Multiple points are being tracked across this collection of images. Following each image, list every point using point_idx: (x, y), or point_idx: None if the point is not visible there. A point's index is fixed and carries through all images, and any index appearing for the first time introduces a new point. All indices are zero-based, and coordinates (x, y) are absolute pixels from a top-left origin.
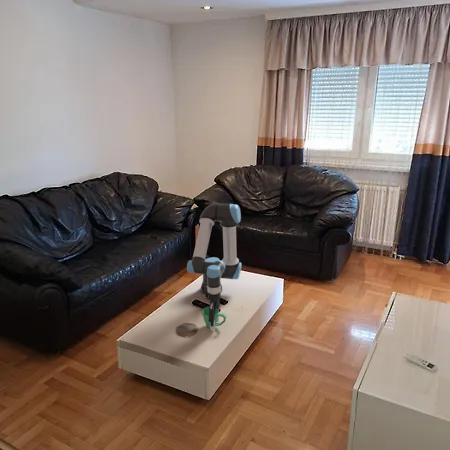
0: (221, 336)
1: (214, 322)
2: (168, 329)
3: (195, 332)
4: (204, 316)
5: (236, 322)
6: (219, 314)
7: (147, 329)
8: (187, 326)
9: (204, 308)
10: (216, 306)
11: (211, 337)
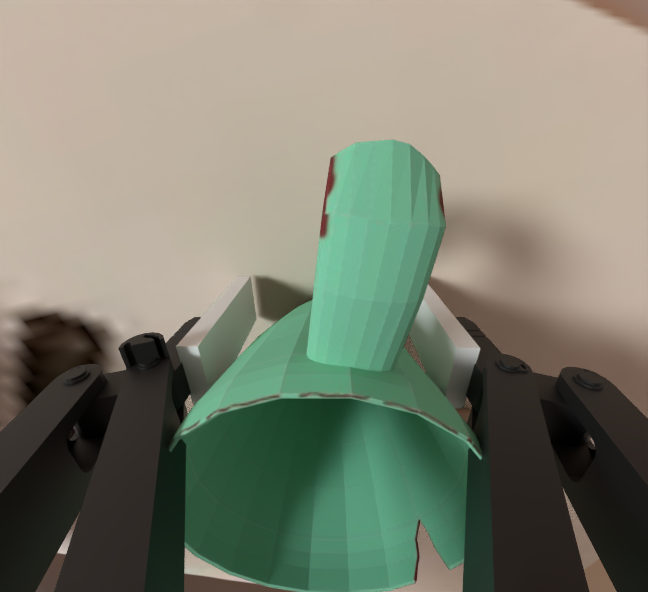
0: (511, 174)
1: (466, 333)
2: (420, 530)
3: (466, 416)
4: (433, 510)
5: (153, 39)
6: (384, 336)
7: (429, 586)
8: None
9: (266, 579)
10: (163, 538)
11: (524, 277)
